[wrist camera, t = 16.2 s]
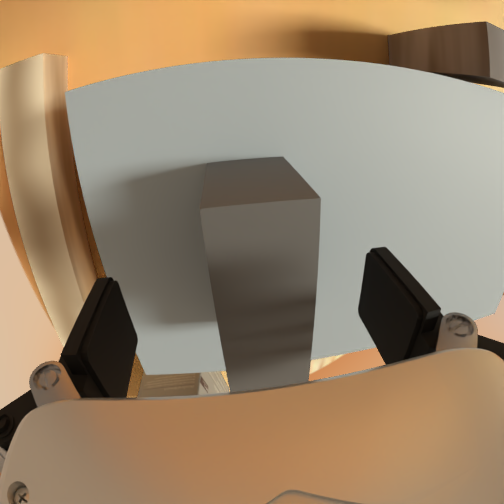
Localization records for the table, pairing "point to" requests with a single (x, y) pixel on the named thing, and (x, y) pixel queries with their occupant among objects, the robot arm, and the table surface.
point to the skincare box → (182, 384)
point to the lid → (285, 204)
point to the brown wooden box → (452, 52)
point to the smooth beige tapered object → (46, 184)
